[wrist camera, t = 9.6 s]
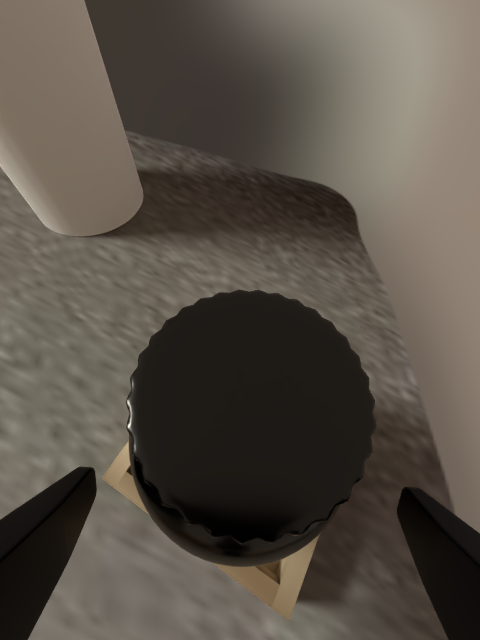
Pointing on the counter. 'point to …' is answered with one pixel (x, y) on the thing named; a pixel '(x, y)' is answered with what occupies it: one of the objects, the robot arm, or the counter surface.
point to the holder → (263, 581)
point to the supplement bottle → (247, 426)
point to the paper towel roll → (62, 120)
